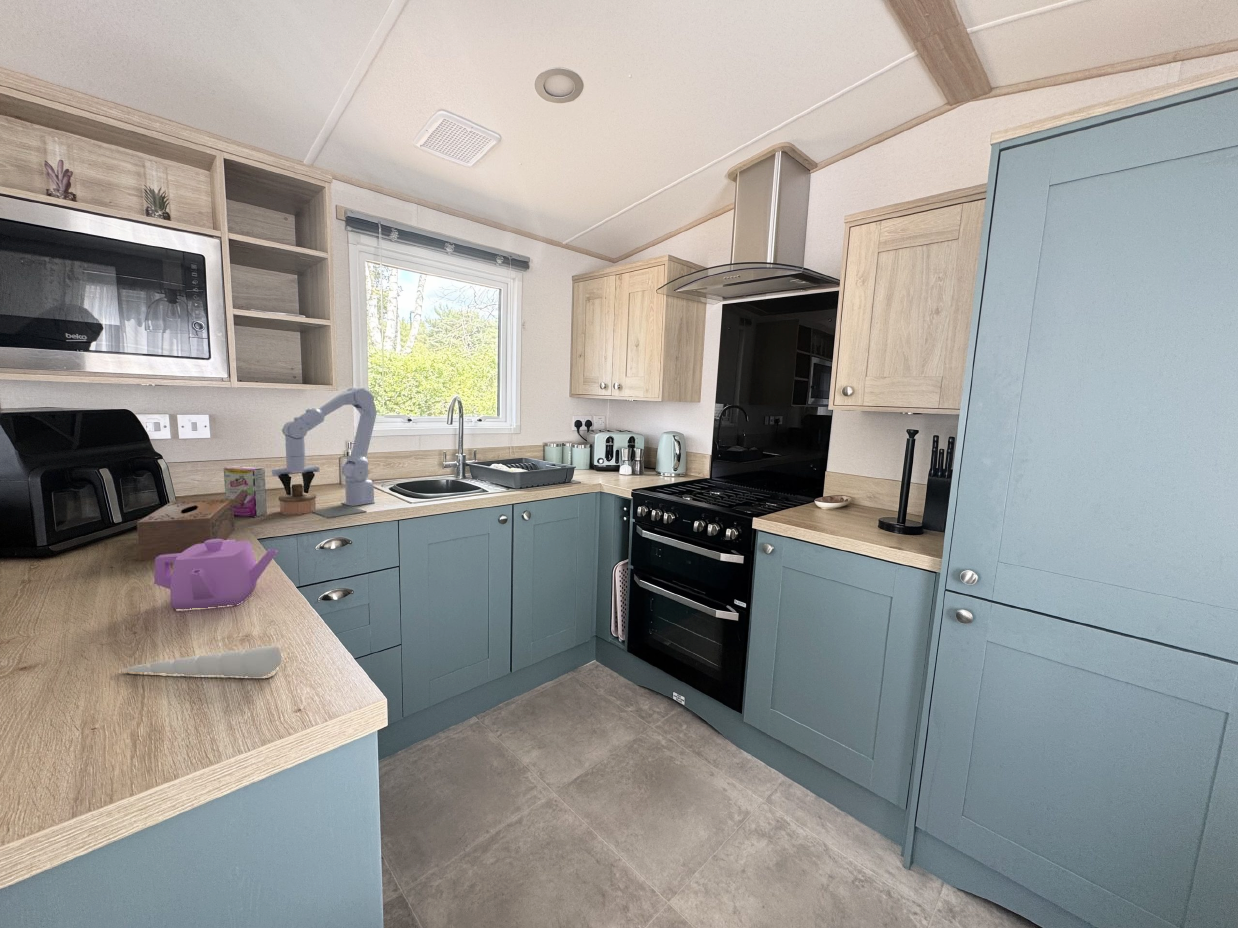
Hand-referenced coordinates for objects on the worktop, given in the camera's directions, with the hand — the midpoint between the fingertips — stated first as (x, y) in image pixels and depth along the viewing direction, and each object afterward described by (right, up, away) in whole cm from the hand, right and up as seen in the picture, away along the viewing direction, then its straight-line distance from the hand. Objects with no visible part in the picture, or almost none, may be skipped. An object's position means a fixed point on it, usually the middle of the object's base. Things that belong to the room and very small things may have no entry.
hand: (297, 493), depth 184 cm
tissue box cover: (-4, -12, -40) cm, 42 cm away
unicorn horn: (+50, -22, -104) cm, 117 cm away
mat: (+14, -7, +1) cm, 16 cm away
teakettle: (+30, -18, -75) cm, 83 cm away
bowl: (0, -6, +1) cm, 6 cm away
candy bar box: (-13, -7, -7) cm, 16 cm away
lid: (0, -2, 0) cm, 2 cm away
